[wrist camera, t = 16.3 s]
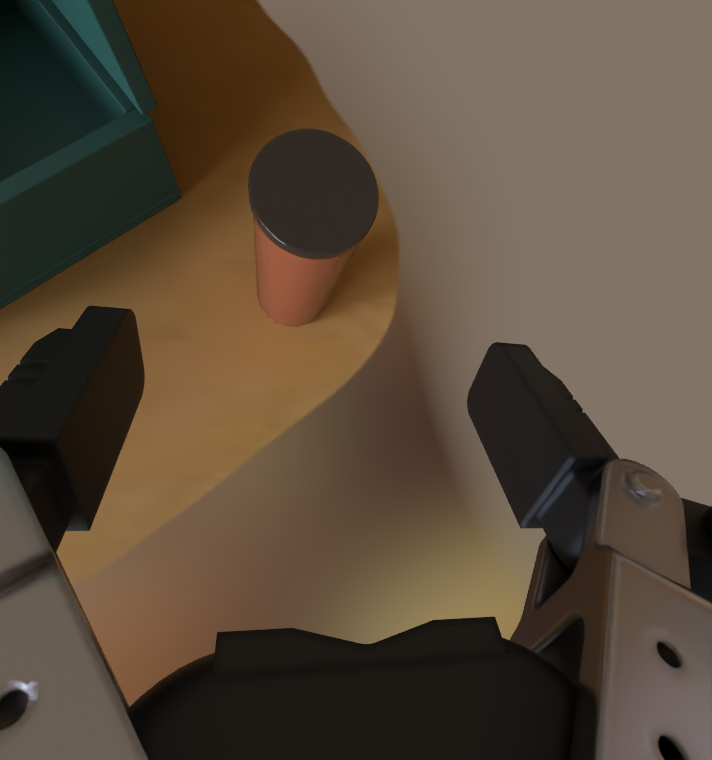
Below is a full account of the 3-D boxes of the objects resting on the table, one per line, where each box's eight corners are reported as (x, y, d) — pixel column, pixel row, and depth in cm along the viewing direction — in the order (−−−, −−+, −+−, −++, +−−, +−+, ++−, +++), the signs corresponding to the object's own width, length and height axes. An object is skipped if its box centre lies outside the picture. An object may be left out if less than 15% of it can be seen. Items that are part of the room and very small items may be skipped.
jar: (286, 342, 26) (305, 279, 14) (240, 284, 25) (219, 169, 14) (342, 300, 27) (404, 208, 15) (298, 243, 26) (325, 104, 15)
